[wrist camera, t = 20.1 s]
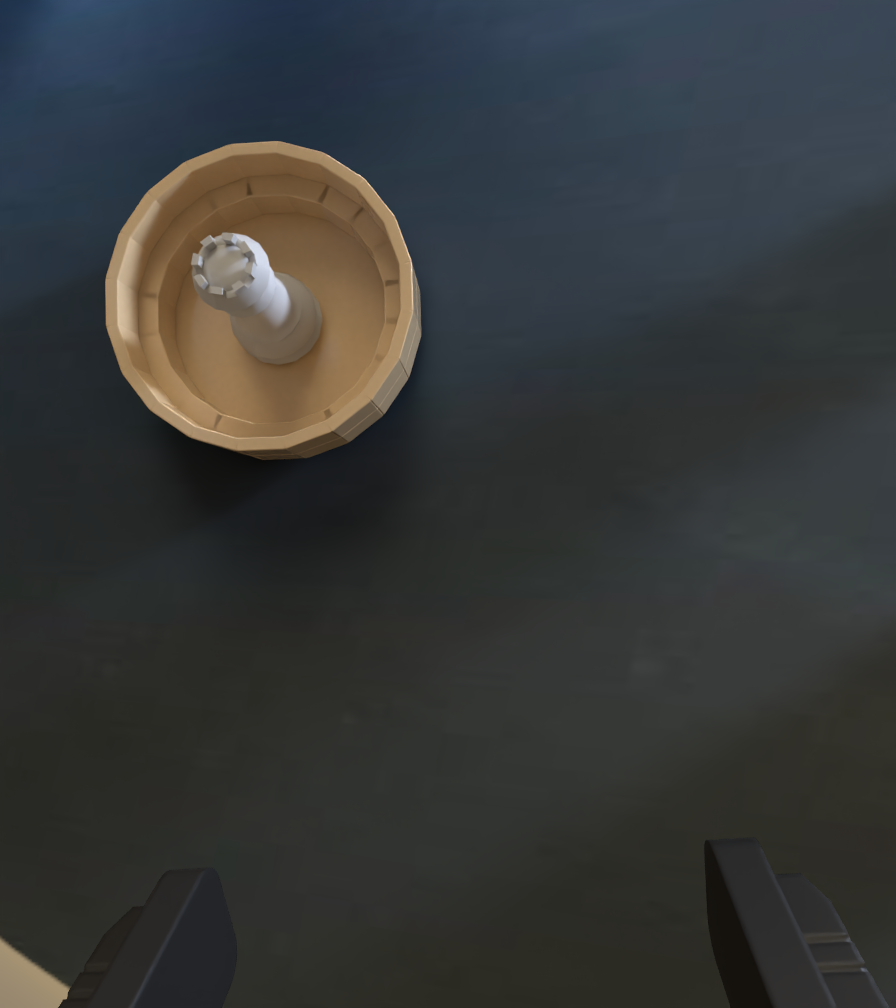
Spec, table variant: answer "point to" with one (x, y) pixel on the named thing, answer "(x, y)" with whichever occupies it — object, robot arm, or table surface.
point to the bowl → (290, 249)
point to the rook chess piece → (257, 298)
